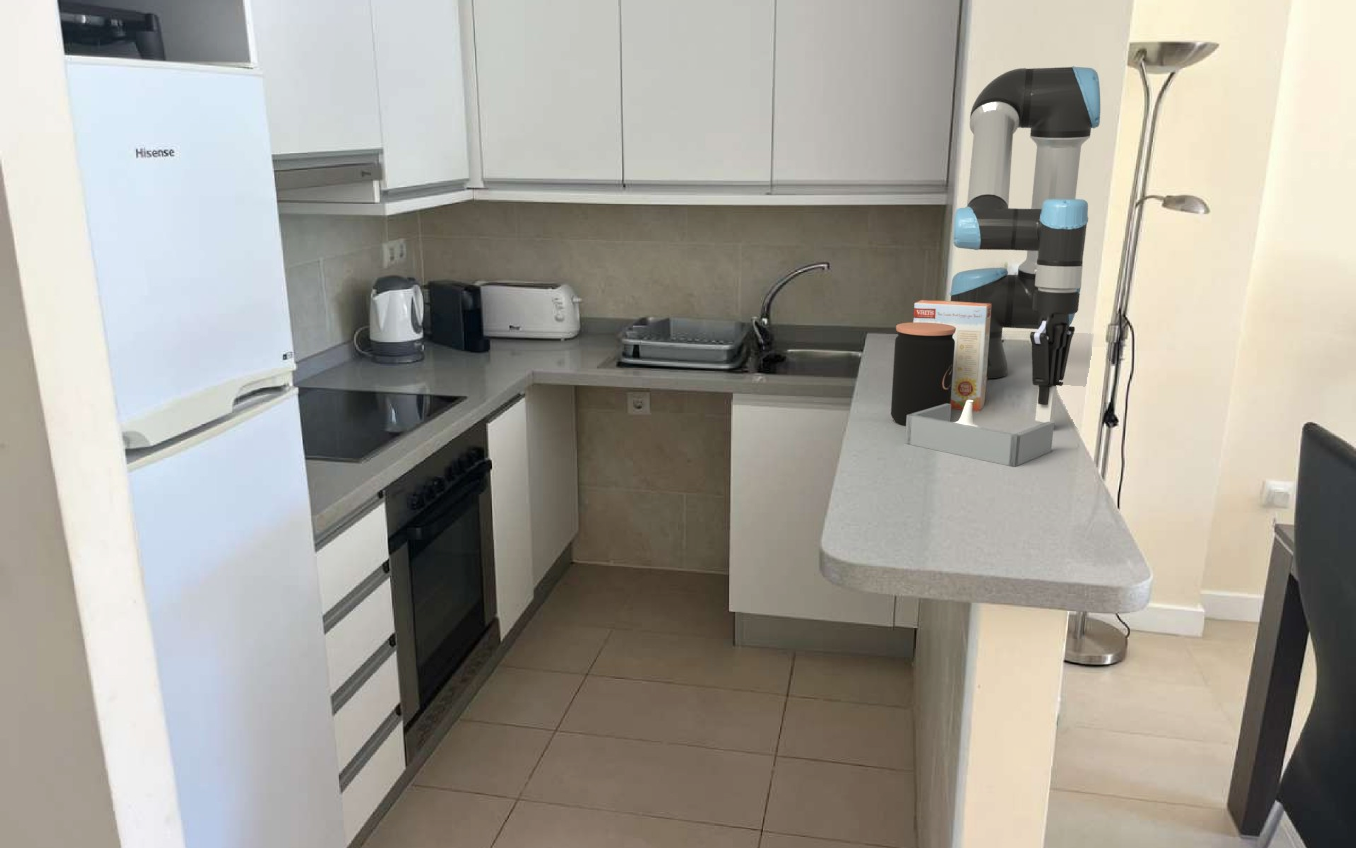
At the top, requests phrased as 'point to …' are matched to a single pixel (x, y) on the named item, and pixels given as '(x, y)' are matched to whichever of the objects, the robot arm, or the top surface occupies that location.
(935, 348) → the coffee jar
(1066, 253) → the robot arm
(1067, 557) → the top surface
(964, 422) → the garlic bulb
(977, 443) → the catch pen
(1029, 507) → the top surface
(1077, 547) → the top surface
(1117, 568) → the top surface
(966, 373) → the cracker box
